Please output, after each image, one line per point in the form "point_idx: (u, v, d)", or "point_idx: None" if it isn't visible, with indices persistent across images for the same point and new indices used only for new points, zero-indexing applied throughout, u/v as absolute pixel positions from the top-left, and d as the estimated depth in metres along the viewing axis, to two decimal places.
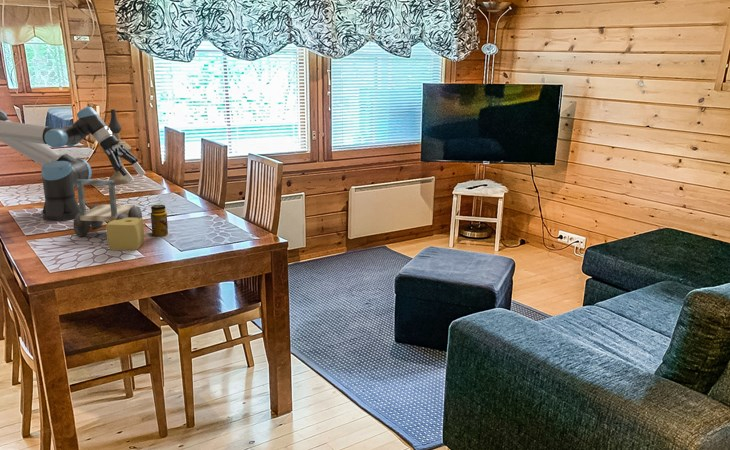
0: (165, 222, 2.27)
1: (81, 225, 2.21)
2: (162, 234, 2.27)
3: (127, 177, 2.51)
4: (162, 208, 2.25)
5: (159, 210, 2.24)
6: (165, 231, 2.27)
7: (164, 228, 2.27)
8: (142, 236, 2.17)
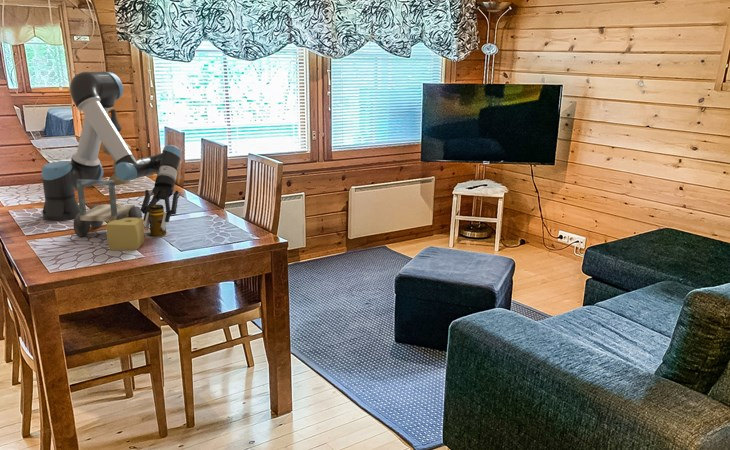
0: None
1: (81, 225, 2.21)
2: (160, 234, 2.26)
3: None
4: (160, 208, 2.24)
5: (157, 210, 2.24)
6: (164, 231, 2.27)
7: None
8: (142, 236, 2.17)
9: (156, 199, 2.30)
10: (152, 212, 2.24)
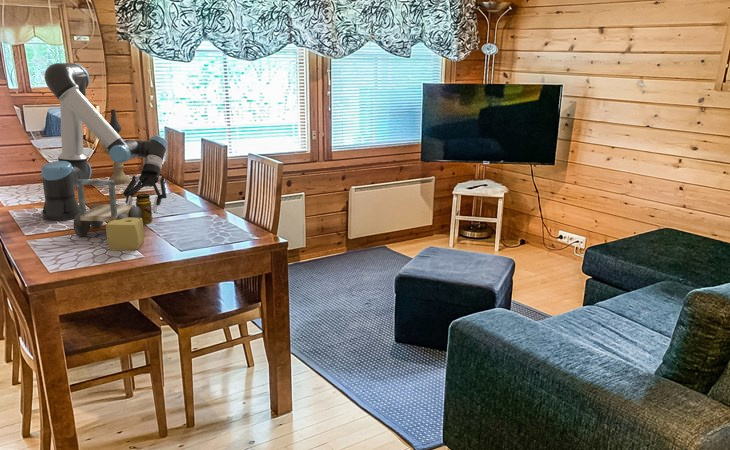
0: (149, 210, 2.43)
1: (81, 225, 2.21)
2: (146, 221, 2.43)
3: None
4: (146, 197, 2.41)
5: (143, 198, 2.40)
6: (150, 218, 2.44)
7: (149, 216, 2.43)
8: (142, 236, 2.17)
9: (140, 185, 2.46)
10: (139, 201, 2.40)
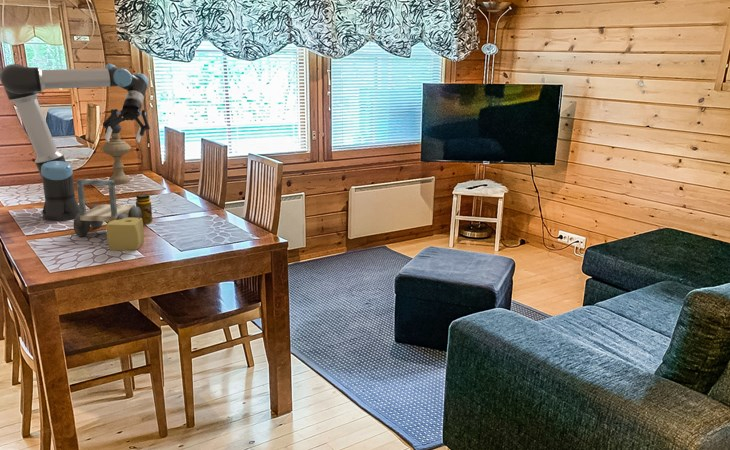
0: (149, 210, 2.43)
1: (81, 225, 2.21)
2: (146, 221, 2.43)
3: None
4: (146, 197, 2.41)
5: (143, 199, 2.40)
6: (150, 218, 2.44)
7: (149, 216, 2.43)
8: (142, 236, 2.17)
9: (121, 118, 2.56)
10: (139, 201, 2.40)
